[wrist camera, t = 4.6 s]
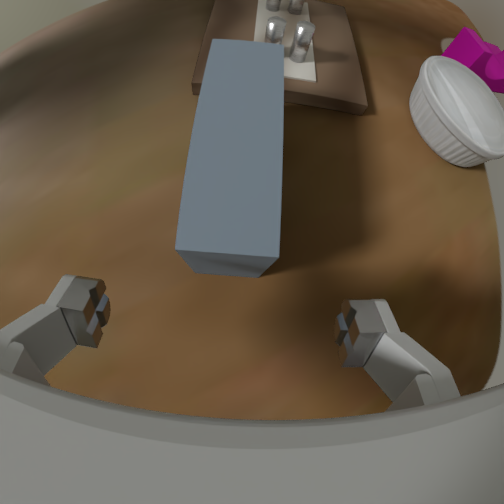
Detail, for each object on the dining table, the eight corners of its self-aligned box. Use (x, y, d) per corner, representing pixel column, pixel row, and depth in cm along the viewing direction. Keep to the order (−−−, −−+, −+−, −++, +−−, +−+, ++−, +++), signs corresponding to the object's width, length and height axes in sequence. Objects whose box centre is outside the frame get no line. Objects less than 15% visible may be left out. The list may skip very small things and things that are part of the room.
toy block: (482, 61, 28) (507, 35, 21) (504, 93, 27) (532, 69, 20) (424, 49, 26) (450, 12, 19) (450, 87, 25) (484, 51, 18)
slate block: (195, 273, 19) (175, 249, 11) (214, 115, 21) (212, 38, 14) (257, 277, 20) (279, 257, 12) (266, 120, 22) (283, 44, 14)
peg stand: (192, 94, 22) (187, 46, 16) (218, -1, 25) (219, -38, 19) (361, 115, 23) (388, 76, 17) (340, 15, 26) (354, -18, 20)
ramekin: (381, 117, 23) (409, 82, 18) (417, 69, 25) (439, 40, 20) (469, 200, 22) (506, 181, 17) (488, 136, 25) (515, 115, 19)
